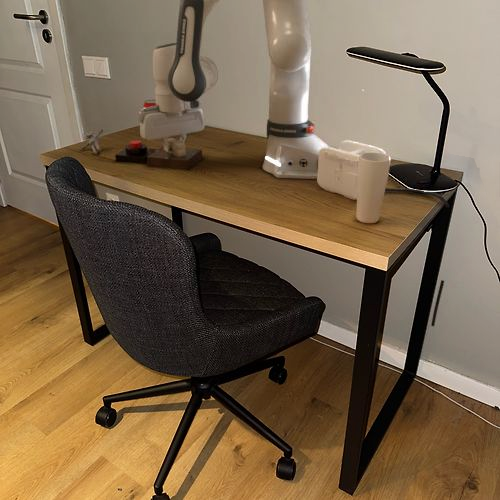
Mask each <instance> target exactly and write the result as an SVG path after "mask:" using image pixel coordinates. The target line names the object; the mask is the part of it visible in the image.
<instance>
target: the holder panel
mask: <svg viewBox="0 0 500 500" xmlns="http://www.w3.org/2000/svg"><path fill="white" fill-rule="evenodd" d="M185 150H186V155H185V156H180V157H178V156H176V155H174V154H172V153H170V152H167V151H166V150H164V145H163V146H161V147H159V148H157V150H155V152H153V153H152V154H150V155H149V156H147V163H146V165H147V167H150V168H162V169H170V170H181V171H182V170H183V171H189V170H190V169H191V168H192V167H194V166H195V165H196V164H197V163H198V162H200V161H201V160H202V159H203V149H202V148H194V147H185Z"/></svg>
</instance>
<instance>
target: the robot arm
mask: <svg viewBox="0 0 500 500" xmlns="http://www.w3.org/2000/svg"><path fill="white" fill-rule="evenodd" d="M218 3H220V0H179V10H178V17H177V18H178V19H177V30H176V42H170V43H166V44H162V45H158V46H157V47H155V48H154V49H153V52H152V77H153V80H154V81H153V82H154V84H155V87H154V88H155V89H154V100H156V106H151V107H144V108H142V109H140V111H139V113H138V119H139V133H140V134H139V135H140V138H142V139H143V140H144V141H147V142H148V141H154V140H155V141H156V140H160V141H161V143H162V144H163V146H164V145H165V150H166V151H167V152H169V151H172V145H170V144H168V143H167V141H168V137H176V136H178V137H180V138H179V140H178V141H180V142H182V143H185V142H186V139H187V134H192V133H197V132H203V130H204V129H205V126H206V125H205V124H206V123H205V115H204V111H203V109H202V105H203V104H202V103H203V102H202V100H200V98H201V97H202V96H203V95H204V94H206V93H207V92H208V91H209V90H211V89H212V88H213V87H215V85H216V83H217V82H218V77H219V71H218V68H217V66H216V64H215V62H214V61H213V60H212V59H211V58H209V57H206V56H203V55H201V53H202V43H203V32H204V27H205V23H206V20H207V18H208V16H209V15H210V13H211V12H212V11H213V9H214V8H215V7H216V6H217V5H218ZM262 5H263V15H264V24H265V25H264V26H265V35H266V42H267V51H268V56H269V59H270V67H269V68H270V69H269V70H270V71H269V86H268V87H269V88H268V89H269V90H268V119H267V120H266V139H267V141H266V142H267V144H266V149H265V150H266V151H265V155H264V160H263V164H262V169H263V170H264V171H265V172H267V173H269V174H272V175H273V176H274V177H275V178H277V179H309V180H311V179H312V180H317V174H318V159H319V151H320V150H321V149H322V148H325V147H330V146H329V145H328V144H327V143H326V142H324V141H323V140H322V139H320V138H319V137H318V136H317V135H316V134H315V124H316V123H315V121H313V122H312V121H311V120H309V119H308V118H309V102H310V101H309V99H310V77H311V55H312V50H313V48H312V38H311V29H310V19H309V11H308V1H307V0H262ZM424 191H425V190H421V189H416V190H415V188H393V187H391V188H390V187H386V189H385V192H393V193H395V192H397V193H399V192H401V193H402V192H403V193H415V194H420V195H427V196H432V197H436V198H438V199H439V200H440V201H441V202H442V203H443V204H444V206H445V207H446V208H450V205H449V203H448V202H447V200H446V199H445V198H444V196H442V195H440V194H439V193H437V192H433V191H427V192H424ZM444 283H445V280H443V279H441V280H440V283H439V288H438V291H437V297H436V301H435V304H434V309H433V313H432V319H431V324H430V325H431V327H435V324H436V320H437V314H438V309H439V304H440V300H441V297H442V292H443V290H444V289H443V288H444Z"/></svg>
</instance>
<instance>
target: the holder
mask: <svg viewBox="0 0 500 500" xmlns="http://www.w3.org/2000/svg"><path fill="white" fill-rule="evenodd" d="M167 143H168V144H170V145H172V151H169V152H170V153H172V154H174V155H176V156H178V157H180V156H185V155H186V150H185V148H186V143H185V142H184V143H182V142H180V141H179V140H178V139H175V138H173V136H171V137H168V141H167ZM163 146H164V150H165V145H164V144H163Z"/></svg>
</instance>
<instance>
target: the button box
mask: <svg viewBox="0 0 500 500" xmlns="http://www.w3.org/2000/svg"><path fill="white" fill-rule="evenodd" d="M155 150H158V148H148V146H147V144H145V143H142V147H141V148H130V143H129V144H126V145H125V146H124V149H123V150H121V151H119V152H117V153H116V154H115V155H114V156H115V162H116V163H127V164H138V165H147V156H149V155H150V154H152V153H153V152H155Z"/></svg>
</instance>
